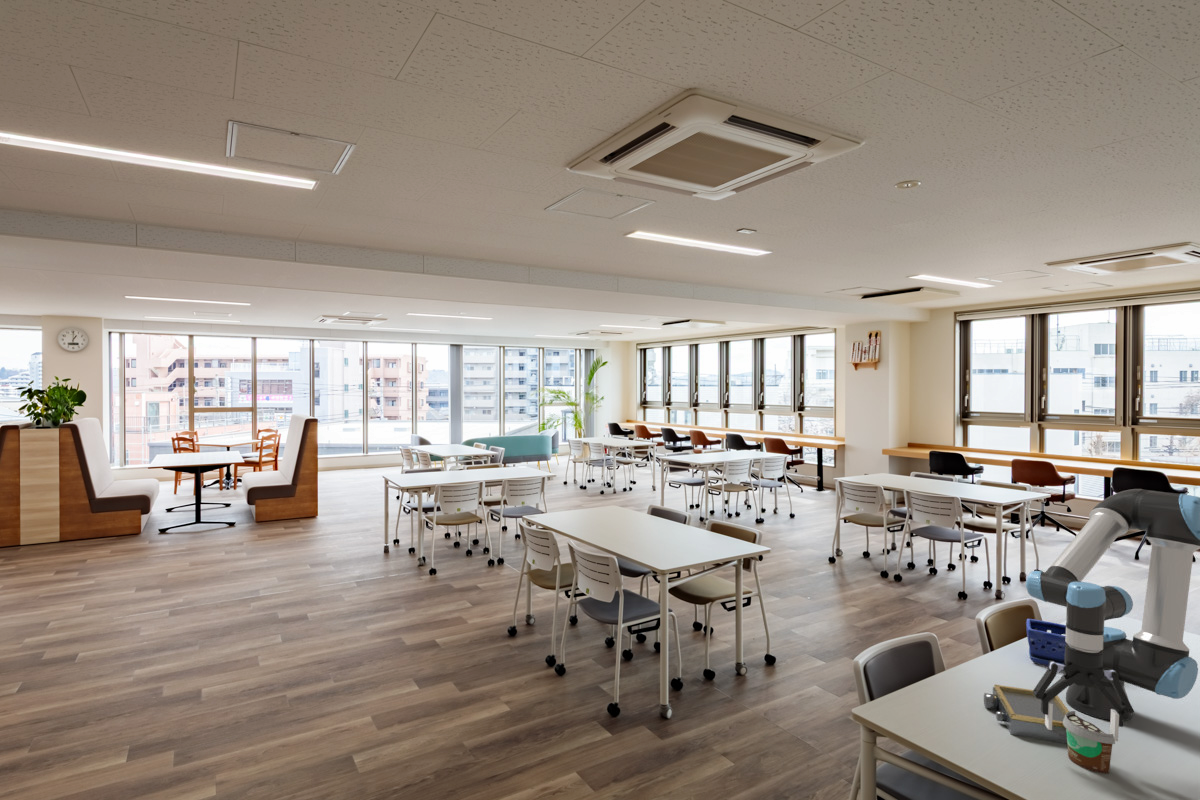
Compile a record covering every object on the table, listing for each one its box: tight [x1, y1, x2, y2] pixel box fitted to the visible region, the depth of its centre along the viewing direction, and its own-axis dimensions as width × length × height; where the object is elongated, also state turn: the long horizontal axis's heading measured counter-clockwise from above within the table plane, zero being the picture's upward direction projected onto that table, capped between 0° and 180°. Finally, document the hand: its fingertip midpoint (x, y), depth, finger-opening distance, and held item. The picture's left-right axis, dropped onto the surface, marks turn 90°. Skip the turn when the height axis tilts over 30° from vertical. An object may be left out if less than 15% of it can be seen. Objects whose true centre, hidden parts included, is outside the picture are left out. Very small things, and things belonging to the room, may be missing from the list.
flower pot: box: [1025, 618, 1067, 667], centre depth 220 cm, size 13×13×12 cm
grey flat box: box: [983, 684, 1070, 744], centre depth 180 cm, size 19×20×5 cm
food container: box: [1063, 710, 1116, 774], centre depth 160 cm, size 12×6×10 cm, turn 5°
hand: (1080, 733), depth 160 cm, fingers open, 13 cm apart
